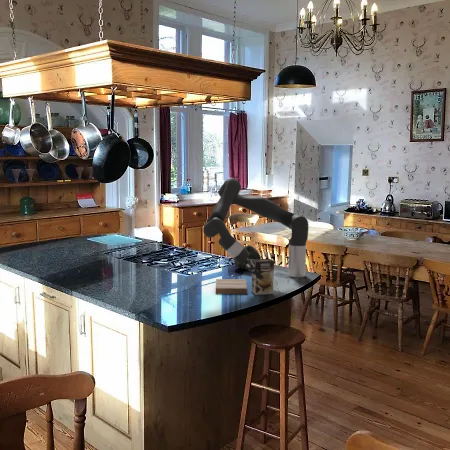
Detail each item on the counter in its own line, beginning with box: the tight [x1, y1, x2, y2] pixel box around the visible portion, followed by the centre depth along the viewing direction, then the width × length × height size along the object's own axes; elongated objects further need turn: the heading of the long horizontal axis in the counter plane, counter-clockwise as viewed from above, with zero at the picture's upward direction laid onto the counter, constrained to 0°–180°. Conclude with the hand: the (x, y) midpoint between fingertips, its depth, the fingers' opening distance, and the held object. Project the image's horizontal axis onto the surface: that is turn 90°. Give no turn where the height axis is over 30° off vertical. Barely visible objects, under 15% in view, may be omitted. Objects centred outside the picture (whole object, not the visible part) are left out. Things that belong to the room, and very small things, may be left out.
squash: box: [233, 245, 262, 272], centre depth 289 cm, size 14×15×15 cm
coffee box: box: [251, 258, 275, 296], centre depth 242 cm, size 9×6×16 cm
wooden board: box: [215, 278, 248, 295], centre depth 250 cm, size 17×15×2 cm
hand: (261, 276), depth 242 cm, fingers closed on coffee box, 7 cm apart
